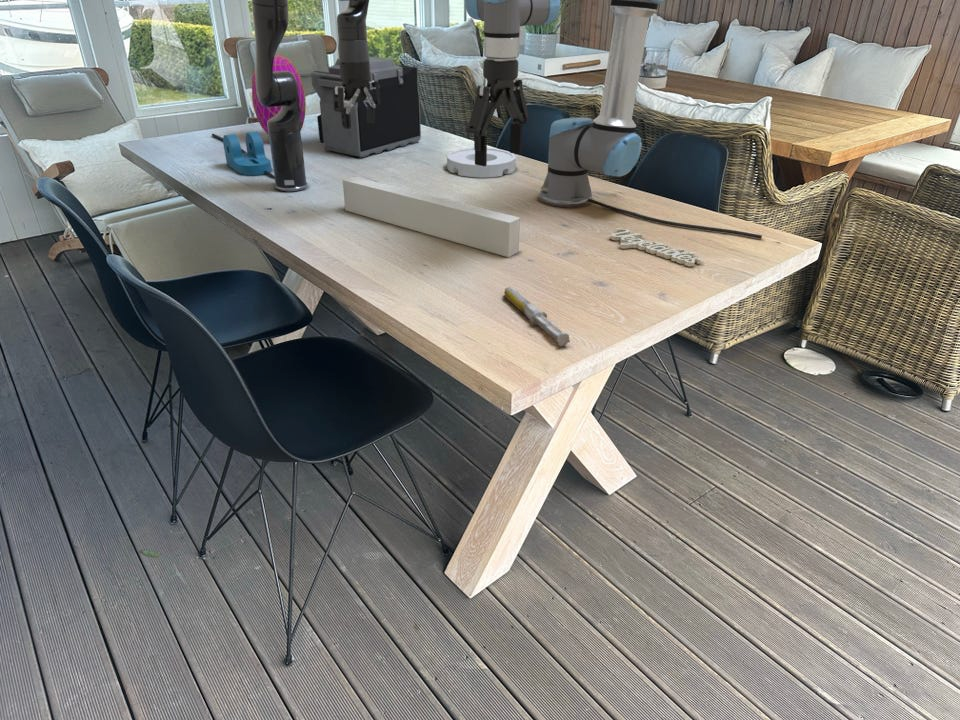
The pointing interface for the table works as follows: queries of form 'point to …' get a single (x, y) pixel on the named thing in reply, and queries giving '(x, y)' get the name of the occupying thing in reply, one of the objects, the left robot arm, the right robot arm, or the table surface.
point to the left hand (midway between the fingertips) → (359, 125)
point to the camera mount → (246, 154)
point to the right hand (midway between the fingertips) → (498, 159)
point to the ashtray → (465, 165)
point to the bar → (433, 216)
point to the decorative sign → (653, 247)
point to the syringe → (536, 316)
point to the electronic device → (392, 116)
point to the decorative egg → (269, 112)
